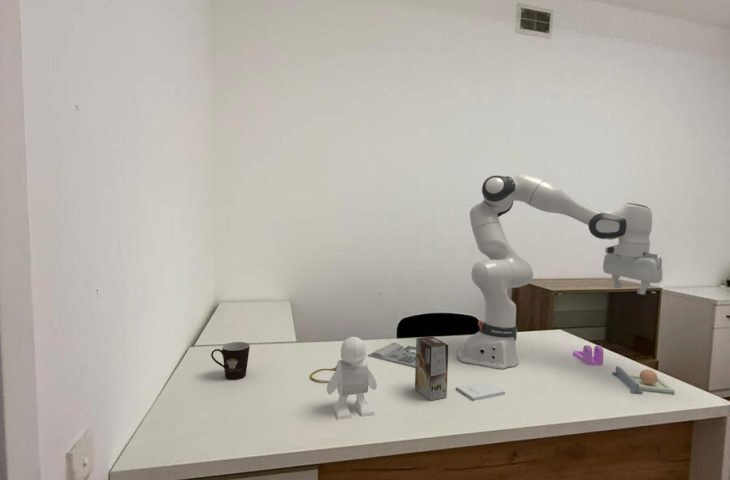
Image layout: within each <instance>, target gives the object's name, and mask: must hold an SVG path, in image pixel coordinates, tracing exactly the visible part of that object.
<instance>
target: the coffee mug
mask: <svg viewBox="0 0 730 480" xmlns="http://www.w3.org/2000/svg"><path fill="white" fill-rule="evenodd" d="M250 346H251V344H250V343H249V342H244V341H234V342H233V341H231V342H227V343H225V344H223V345H222V346H221V349H220V348H215V349H214V350H212V351H211V354H210V357H211V359H212V360H213V361H214V362H215V363H216V364H217V365H219V366H220V367H222V368H223V369H224V377H225V379H226V380H230V381H238V380H241V379H244V378H245V377H246V376H247V369H248V361H249V355H250ZM215 352H219V353H220V354H221V355H222V359H223V364H222V363H221V362H219V361H218V360H217V359H216V358H215V357H214V353H215Z"/></svg>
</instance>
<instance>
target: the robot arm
mask: <svg viewBox="0 0 730 480" xmlns="http://www.w3.org/2000/svg"><path fill="white" fill-rule="evenodd" d="M481 194H482V195H483V197H482V198H483V200H482V201H481V202H480V203H478V204H475V205H473V206H472V208H471V209H470V211H469V220H470V221H469V222H470V226H471V230H472V233H473V236H474V240H475V243H476V245H477V248H478V250H479V251H480V253H481V254H483V255H485V256H487V257H488V258H489V259H485V260H481V261H478V262H476V263H474V265H473V266H472V269H471V274H470V276H471V279H472V282H473V284H474V285H476V287H477V288H478V289H479V290H480V292H481V293H482V295H483V298H484V299H483V300H484V304H485V307H484V308H485V310H484V311H485V313H484V315H485V316H484V317H485V318H484V321H482V320H479V321H478V322H477V326H478V327H479V329H478V330H479V331H477V332H476V333H474V334H473V335H471V336H469V337H468V338H466V339H465V342H464V344H463V348H461V349H458V351H457V354H456V355H457V359H458V360H459V361H460V362H461V363H467V364H472V365H477V366H483V367H488V368H494V369H500V370H503V369H507V368H511V367H516V366H518V365H519V360H518V359H519V358H518V354H517V346H516V345H517V344H516V341H517V336H518V335H517V334H518V328H517V327H518V326H517V325H516V321H517V305H516V303H515V302H514V301H513V300H511V299H510V297H509V295H508V291H507V290H508V289H514V288H516V289H517V288H521V287H523V286H527V285H529V284H530V283H531V282H532V280H533V278H534V277H533V276H534V272H533V271H534V269H533V268H532V265H531V264H530V263H529V262H527V261H525V260H524V259H522V257H520V256H519V255H518V254H517V252H516V251H515V250H514V249H513V248H512V246H511V245H510V243H509V241H508V240H507V237H506V234H505V232H504V230H503V227H502V224H501V222H500V217H501V216H503V215H505V214H507V213H509V211H510V210H512V208H513V205H514V201H515V202H516V201H519V202H521V203H525V204H527V206H528V205H529V206H530V207H532V208H534V209H537V210H540V211H543V212H546V213H552V214H560V215H564V216H567V217H570V218H573V219H574V220H576V221H578V222H580V223H583V224H584V225H587V226H588V230H589V233H590V234H591V235H592V236H594V237H595V238H597V239H599V240H617V239H618V244H615V245H610V246H607V247H605V249H604V251H605V255H604V257H603V265H602V270H603V272H604V274H608V275H611V279H612V282H613V288H614V289H622V283H621V282H620V278H621V277H623V278H627V279H632V280H636V281H640V284H641V286H640V287H638V288H637V291H636V293H637V294H638V295H646V292H647V291H646V290H647V289H648V288H649V287H650V286H651V283H652V284H653V283H654V284H659V283H661V281H663V265H662V263H663V259H662V258H661V256H660V255H658V254H657V253H650V248H651V247H650V246H651V241H650V235H651V233H652V227H653V212H652V210H651V208H649V207H648V206H646V205H643V204H639V203H630V202H627V203H624V204H622V205H621V206H619V207H617V208H613V209H612V210H607V211H600V210H597V209H594V208H592V207H591V206H588V205H585V204H583V203H581V202H579V201H577V200H576V199H574V198H573V197H572V196H570V195H569V194H567V193H566V192H565V191H564V190H562V189H561V188H559V187H558V186H556V185H555V184H553V183H551V182H550V181H548V180H546V179H543V178H541V177H539V176H535V175H532V174H528V173H519V174H517V175H516V176H514V178H512V177H511V176H503V175H491V176H489V177H487V178H486V179H485V180H484V181H483V183H482V187H481Z"/></svg>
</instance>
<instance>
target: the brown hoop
mask: <svg viewBox="0 0 730 480" xmlns="http://www.w3.org/2000/svg"><path fill="white" fill-rule="evenodd" d="M336 368H337V365H335V367H333V368H321V369H317V370H315V371H313V372H312V373H310V375H309V376H310V377H309V378H310V379H311V380H312V381H313V382H315V383H318V384H319V383H320V384H328V383H329V381H330V380H323V379H316V378H314V377H313V375H314V374H316V373H319V372H321V371H324V370H325V371H334V372H335V371H336Z"/></svg>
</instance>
